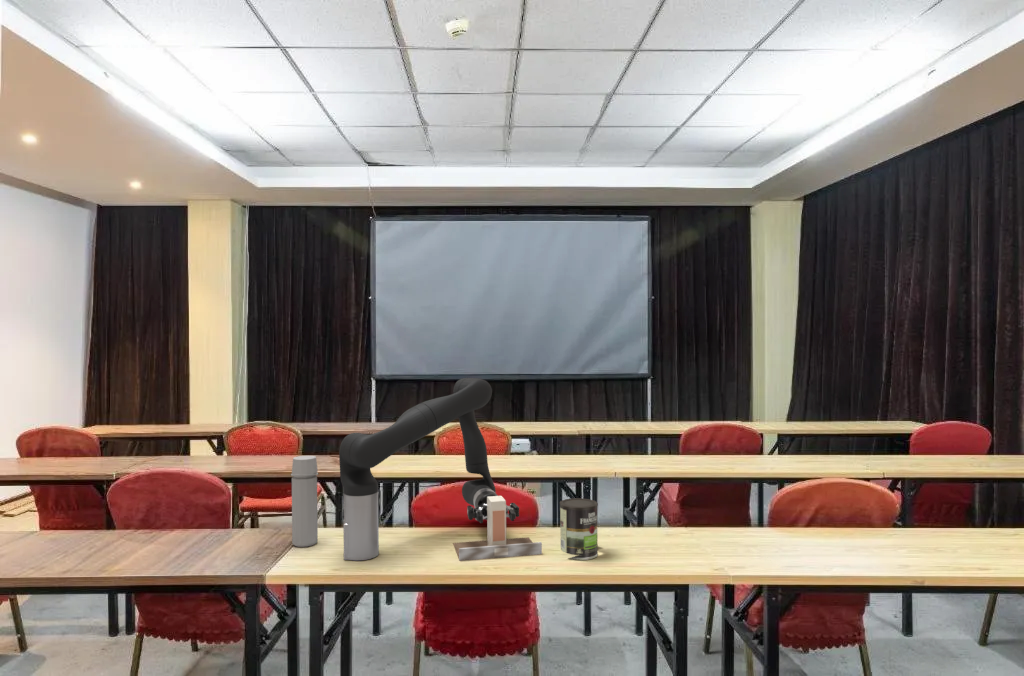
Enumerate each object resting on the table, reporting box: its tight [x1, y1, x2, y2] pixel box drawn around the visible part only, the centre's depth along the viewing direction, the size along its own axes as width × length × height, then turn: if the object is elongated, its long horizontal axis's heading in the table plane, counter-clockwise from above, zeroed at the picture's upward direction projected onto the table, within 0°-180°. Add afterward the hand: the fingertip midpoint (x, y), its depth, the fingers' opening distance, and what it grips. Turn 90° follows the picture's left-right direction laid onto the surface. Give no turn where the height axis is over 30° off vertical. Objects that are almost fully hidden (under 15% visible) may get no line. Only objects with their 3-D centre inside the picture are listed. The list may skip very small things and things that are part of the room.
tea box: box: [486, 495, 507, 546], centre depth 177 cm, size 4×6×14 cm, turn 13°
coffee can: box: [559, 497, 599, 561], centre depth 178 cm, size 10×10×14 cm
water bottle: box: [290, 455, 319, 548], centre depth 190 cm, size 9×8×25 cm
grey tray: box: [452, 537, 543, 562], centre depth 178 cm, size 22×15×4 cm
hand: (497, 518), depth 176 cm, fingers open, 8 cm apart
